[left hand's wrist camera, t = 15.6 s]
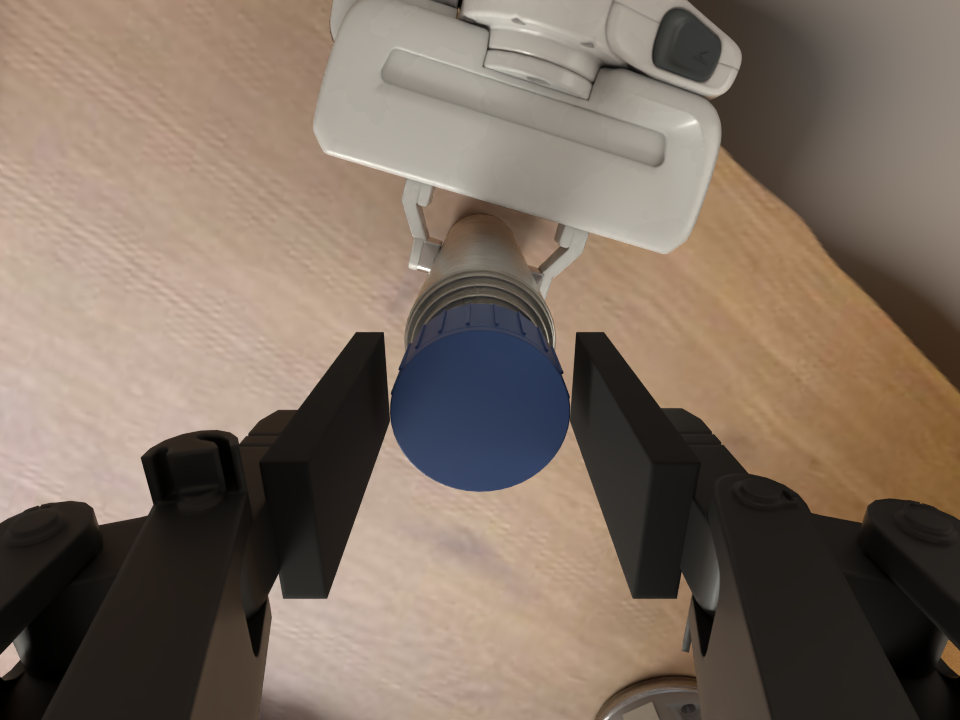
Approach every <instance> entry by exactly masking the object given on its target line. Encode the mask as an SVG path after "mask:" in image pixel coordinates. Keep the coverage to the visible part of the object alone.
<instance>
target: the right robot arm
mask: <svg viewBox="0 0 960 720" xmlns="http://www.w3.org/2000/svg"><path fill="white" fill-rule="evenodd" d="M459 7H460V12H459V17H458V9H459ZM457 17H458V19H457ZM330 33H331V37H332V40H333V43H334V44H333V47H332V50H331V53H330V56H329V59H328V62H327V65H326V69H325V72H324V76H323V79H322V83H321V87H320V91H319V95H318V99H317V104H316V109H315V114H314V120H313V131H314V134H315V136H316V138H317V141H318V143H319V145H320V146H321V148H322V150H323V152H324V153H326V154H327V155H330V156H334V157H337V158H340V159H344V160H347V161H351V162H354V163H357V164H361V165H364V166H367V167H371V168H374V169H378V170H381V171H384V172H388V173H391V174H394V175H398V176H401V177H405V178H406V183H405V187H404V192H403V197H402V203H403V207H404V210H405V213H406V217H407V220H408V223H409V227H410V230H411V233H412V237H415V239H414V243H413V247H412V252H411V256H410V260H409V266H408V268H411V269H414V270H418V271H422V272H425V273H429V272H430V270H431V268H432V266H433V263H434V261H435V259H436V257H437V255H438V253H439V251H440V249H441V246H442V241H441V240H438V239H435V238H432V237H429V233H428V229H427V225H426V222H425V218H424V214H423V210H422V207H421V206H424V207H426V206H427V205H429V204H430V203H431V201H432V197H433V193H434V189H435V187H438V188H442V189H445V190H448V191H452V192H455V193H459V194H462V195H465V196H469V197H472V198H475V199H479V200H482V201H486V202H489V203H492V204H496V205H499V206H502V207H506V208H509V209H513V210H516V211H519V212H523V213H526V214H529V215H533V216H536V217H540V218H543V219H546V220H550V221H553V222H556V223H559V224H558V227H557V231H556V234H555V237H554V240H555V241H556V242H557V243H558V244H559V245H560V247H559V248H558V249H557V250H556V251H555V252H554V253H553V254H552V255H551V256H550V257H549V258H548V259H547V260H546V261H545V262H544V263H543V264H541V265H540V266H539V268H536V267H533V266H529V265H528V267H529V269H530V271H531V273H532V275H533V277H534V279H535V281H536V284H537V286H538V288H539V290H540V292H541V294H542V296H543V298H544V300H545V299H546V296H547V293H548V290H549V287H550V284H551V281H552V278H553V277H556V276H557V275H558V274H559V273H560V272H562V271H563V270H564V269H565V268H566V267H567V266H568V265H569V264H571V263H572V262H573V261H574V260H575V259H576V258H577V257H578V256H580V255H581V254H582V252H583V249H584V246H585V244H586V241H587V238H588V235H589V232H590V233H594V234H597V235H600V236H604V237H607V238H610V239H614V240H617V241H621V242H624V243H627V244H631V245H634V246H637V247H641V248H644V249H648V250H651V251H654V252H658V253H661V254H668V253H670V252H671V251H673V250H675V249H676V248H677V247H679V246H680V245H682V244H683V243H684V242H686V240H687V239H688V238H689V236H690V234H691V232H692V230H693V228H694V226H695V223H696V221H697V218H698V216H699V213H700V210H701V208H702V205H703V202H704V199H705V197H706V194H707V191H708V188H709V184H710V181H711V178H712V175H713V171H714V168H715V164H716V160H717V157H718V153H719V148H720V142H721V123H720V119H719V116H718V113H717V111H716V109H715V108H714V107H713V105H712V104H711V103H710V102H709V100H711V99H714V98H716V97H718V96H720V95H722V94H723V93H725V92H726V91H727V90H728V89H729V88H730V87H731V85H732V83H733V82H734V80H735V78H736V75H737V73H738V70H739V68H740V65H741V60H742V54H741V51H740V49H739V47H738V46H737V44H736V43H735V42H734V41H733V40H732V39H731V38H730V37H729V36H727V35H726V34H725V33H724V32H723V31H721V30H720V29H719V28H718V27H717V26H716V25H714V24H713V23H712V22H711V21H710V20H709V19H707V18H706V17H705V16H704V15H703V14H702V13H701V12H699V11H698V10H697V9H696V8H695V7H694V6H693V5H692V4H691V3H689V2H688V1H687V0H333V3H332V9H331V16H330Z"/></svg>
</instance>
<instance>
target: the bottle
mask: <svg viewBox="0 0 960 720" xmlns="http://www.w3.org/2000/svg"><path fill="white" fill-rule="evenodd" d="M468 303H471V304H492V305H493V304H497V306H501V307H505V308H508V309H510V310H513V311H515V312H517V313H518V312H520V313H521V315H522V316H524V317H525V318H527V319H528V320H530V321H531V322H532V323H533V324H534V325H535V326H536V327H538V326H539V327H540V328H541V331H542V334H543V335H544V336H545V338H546V340H547V341H548V343H549V345H550V347H551V346H553V348H554V350H555V345H556V334H555V327H554V322H553V319H552V316H551V313H550V311H549V309H548V306H547V304H546V302H545V300H544V298H543V296H542V294H541V292H540V290H539V288H538V286H537V284H536V281H535V279H534V277H533V275H532V273H531V271H530V269H529V267H528V265H527V263H526V261H525V259H524V257H523V254H522V252H521V250H520V248H519V246H518V244H517V242H516V240H515V238H514V236H513V234H512V232H511V230H510V229H509V228H508V226H507V225H506V224H505V223H503V222H502V221H501V220H499V219H498V218H496V217H493V216H490V215H486V214H474V215H470V216H467V217H465V218H463V219H461V220H459V221H458V222H457V223H456V224H455V225H454V226H453V227H452V228H451V229H450V231H449V233H448V234H447V236H446V239H445V241H444V243H443V245H442V247H441V249H440V251H439V253H438V255H437V257H436V259H435V261H434V263H433V266H432V268H431V270H430V272H429V274H428V276H427V278H426V280H425V282H424V284H423V286H422V288H421V290H420V293H419V295H418V297H417V299H416V301H415V303H414V305H413V307H412V309H411V312H410V314H409V317H408V319H407V324H406V328H405V350H406V349H407V347H408V345H409V343H411V344H412V342H413V340H414V338H415V337H416V335H417V334H418V333H419V331H420V330H421V328H422V325H424V324H425V325H426V324H427V323H428V322H430V321H431V320H432V319H433V318H435V317H436V316H438V315H440V314H441V313H443V311H444V310H446V311H448V310H450V309H452V308H456V307H459V306H463V305H467V304H468Z"/></svg>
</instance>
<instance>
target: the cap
mask: <svg viewBox="0 0 960 720" xmlns="http://www.w3.org/2000/svg"><path fill="white" fill-rule="evenodd" d="M398 370H400V371H399V374H398V376H397V379H396V381H395V384H394V386H393V389H392V391H391V395H392V397H391V403H390V417H391V425H392V428H393V432H394V435H395V438H396V440H397V442H398V445H399V446H400V448H401V450H402V451H403V453H404V454H405V456H406V457H407V458H408V459H409V461H410V462H411V463H412V464H413V465H414V466H415V467H416V468H417V469H418V470H420V471H421V472H422V473H424V474H425V475H426V476H428V477H430V478H431V479H433V480H435V481H437V482H439V483H441V484H443V485H446V486H449V487H452V488H455V489H460V490H465V491H476V492H482V491H494V490H501V489H504V488H508V487H512V486H514V485H517V484H519V483H522V482H524V481H525V480H527V479H529V478H531V477H532V476H534V475H535V474H537V473H538V472H540V471H541V470H542V469H543V468H544V467H545V466H546V465H547V464H548V463H549V462H550V461H551V460H552V459H553V457H554V456H555V455H556V453H557V452H558V450H559V449H560V447H561V445H562V443H563V441H564V439H565V436H566V433H567V430H568V426H569V420H570V402H569V398H570V396H569V393H568V391H567V388H566V385H565V382H564V380H563V377H562V375H561V374H563V370H562V368H561V365H560V363H559V360H558V358H557V355H556V353H555V350H554V348H553V346H551V347H550V345H549V343H548V341H547V340H546V338H545V336H544V335H543V334H542V331H541V328H540V327H539V326H538V327H536V326H535V325H534V324H533V323H532V322H531V321H530V320H528V319H527V318H525V317H524V316H522V315H521V313H520V312H518V313H517V312H515V311H513V310H510V309H508V308H505V307H501V306H497V304H493V305H492V304H471V303H468V304H467V305H463V306H459V307H456V308H452V309H450V310H448V311H446V310H444V311H443V313H441V314H440V315H438V316H436V317H435V318H433V319H432V320H431V321H430V322H428V323H427V324H426V325H425V324H424V325H422V328H421V330H420V331H419V333H418V334H417V335H416V337H415V338H414V340H413V342H412V344H411V343H409V345H408V347H407V349H406V352H405V354H404V357H403V359H402V362H401V364H400V367H399V369H398Z"/></svg>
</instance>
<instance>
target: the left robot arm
mask: <svg viewBox="0 0 960 720" xmlns="http://www.w3.org/2000/svg"><path fill="white" fill-rule="evenodd" d="M389 422H390V414H389V400H388V386H387V371H386V357H385V343H384V332H356V333H355V334H354V336H353V337H352V338H351V340H350V341H349V342H348V344H347V345H346V346H345V348H344V349H343V350H342V352H341V353H340V354H339V356H338V357H337V358H336V360H335V361H334V362H333V364H332V365H331V366H330V368H329V369H328V370H327V372H326V373H325V374H324V376H323V377H322V378H321V380H320V381H319V383H318V384H317V385H316V387H315V388H314V389H313V391H312V392H311V393H310V395H309V396H308V397H307V399H306V400H305V401H304V403H303V404H302V405H301V407H300V408H299V409H298V410H277V411H276V412H274V413H272V414H271V415H269V416H267V417H265V418H264V419H262V420H260V421H259V422H258V423H257V424H256V426H255V427H254V428H253V429H252V430H251V431H250V432H249V434H248V436H246V437H245V438H244V439H243V440H242V442H241V443H240V444H239V442H238V438H237V437H236V436H234V435H233V434H232V433H230V432H225V431H220V430H205V431H196V432H191V433H186V434H182V435H179V436H176V437H173V438H170V439H167V440H165V441H163V442H161V443H159V444H157V445H156V446H154V447H152V448H150V449H149V450H148V451H147V452H146V453H145V454H144V455H143V456H142V457H141V461H142V464H143V468H144V471H145V475H146V479H147V482H148V486H149V490H150V493H151V497H152V501H153V504H154V505H153V507H152V509H151V511H150V513H149V515H148V516H144V517H140V518H135V519H130V520H124V521H119V522H114V523H109V524H103V525H98V522H97V519H96V516H95V513H94V510H93V508H92V507H91V506H89V505H88V504H86V503H84V502H76V501H66V502H57V503H48V504H43V505H41V506H40V507H39V506H36V507H33V508H29V509H27V510H25V511H24V512H22V513H20V514H18V515H15V516H13V517H11V518H8V519H7V520H5V521H3V522H2V523H0V654H1V653H2V652H3V651H4V650H5V649H6V648H7V647H8V646H9V645H10V644H11V643H12V642H13V643H14V646H15V648H16V650H17V653H18V655H19V657H20V659H21V660H20V661H19V662H18V663H17V664H16V665H15V666H14V667H13V669H12V670H11V671H9V672H8V673H7V674H6V675H4V676H3V677H2V678H1V677H0V720H258V718H259V711H260V703H261V695H262V688H263V680H264V672H265V665H266V657H267V649H268V642H269V634H270V626H271V619H272V616H271V609H270V603H269V598H268V594H269V592H270V590H271V588H272V586H273V584H274V582H275V580H276V578H277V576H278V574H279V578H280V584H281V589H282V595H283V599H327V597H328V595H329V592H330V589H331V586H332V583H333V581H334V578H335V575H336V572H337V569H338V566H339V564H340V561H341V558H342V555H343V552H344V549H345V547H346V544H347V541H348V538H349V535H350V533H351V530H352V527H353V524H354V521H355V518H356V516H357V513H358V510H359V507H360V504H361V501H362V499H363V496H364V493H365V490H366V487H367V485H368V482H369V479H370V476H371V473H372V470H373V468H374V465H375V462H376V459H377V456H378V453H379V451H380V448H381V445H382V442H383V439H384V436H385V434H386V431H387V428H388V425H389ZM570 422H571V425H572V428H573V431H574V434H575V436H576V439H577V442H578V445H579V448H580V451H581V453H582V456H583V459H584V462H585V465H586V468H587V470H588V473H589V476H590V479H591V482H592V484H593V487H594V490H595V493H596V496H597V499H598V501H599V504H600V507H601V510H602V513H603V516H604V518H605V521H606V524H607V527H608V530H609V533H610V535H611V538H612V541H613V544H614V547H615V549H616V552H617V555H618V558H619V561H620V564H621V566H622V569H623V572H624V575H625V578H626V581H627V583H628V586H629V589H630V592H631V595H632V597H633V599H677V595H678V589H679V584H680V578H681V572H682V573H683V575H684V577H685V579H686V581H687V583H688V585H689V587H690V589H691V591H692V598H691V603H690V608H689V613H688V619H687V624H686V629H685V634H684V639H683V646H682V651H684V652H689V649H690V644H691V641H692V648H693V656H694V663H695V671H696V678H690V677H662V678H655V679H650V680H646V681H643V682H640V683H637V684H634V685H632V686H630V687H628V688H626V689H624V690H622V691H620V692H619V693H617V694H616V695H614V696H613V697H612V698H611V699H609V700H608V701H607V702H606V703H605V704H604V705H603V706H602V708H601V709H600V710H599V712H598V714H597V715H596V717H595V720H960V676H959V675H957V674H956V673H955V672H954V671H953V670H952V669H950V668H949V666H948V665H947V664H946V663H945V662H944V661H943V660H942V659H941V658H940V657H941V655H942V653H943V650H944V648H945V646H946V643H947V641H948V639H949V640H950V641H951V642H952V643H953V644H954V645H955V646H956V647H957V648H958V649H959V650H960V520H958V519H957V518H955V517H954V516H951V515H949V514H947V513H944V512H942V511H940V510H938V509H937V508H935V507H933V506H930V505H927V504H923V503H922V504H920V502H915V501H911V500H899V499H882V500H875V501H874V502H872V503H871V504H870V505H868V507H867V510H866V513H865V516H864V519H863V522H862V523H859V522H853V521H848V520H843V519H838V518H832V517H827V516H822V515H817V514H813V513H811V512H810V510H809V508H808V506H807V504H806V503H805V502H804V501H803V499H802V498H801V497H800V496H799V495H798V494H797V493H796V492H794V491H793V490H791V489H790V488H788V487H787V486H785V485H783V484H781V483H778V482H776V481H773V480H771V479H769V478H765V477H761V476H756V475H752V474H748V473H747V471H746V470H745V469H744V468H743V467H742V466H741V465H740V463H739V462H738V461H737V460H736V459H735V458H734V457H733V455H732V454H731V453H730V452H729V451H728V450H727V449H726V447H725V446H724V445H721V442H720V441H719V439H718V438H717V437H716V436H715V435H714V434H712V431H711V430H710V429H709V428H708V427H707V426H706V425H705V423H704V422H703V421H702V420H701V419H700V418H698V417H696V416H694V415H693V414H691V413H689V412H688V411H686V410H684V409H682V408H660V407H659V405H658V404H657V403H656V401H655V400H654V399H653V397H652V396H651V395H650V393H649V392H648V391H647V389H646V388H645V387H644V385H643V384H642V382H641V381H640V380H639V378H638V377H637V376H636V374H635V373H634V372H633V370H632V369H631V368H630V366H629V365H628V364H627V362H626V361H625V360H624V358H623V357H622V356H621V354H620V353H619V352H618V350H617V349H616V348H615V346H614V345H613V344H612V342H611V341H610V340H609V338H608V337H607V336H606V334H605V333H604V332H576V343H575V357H574V371H573V386H572V400H571V414H570Z"/></svg>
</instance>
